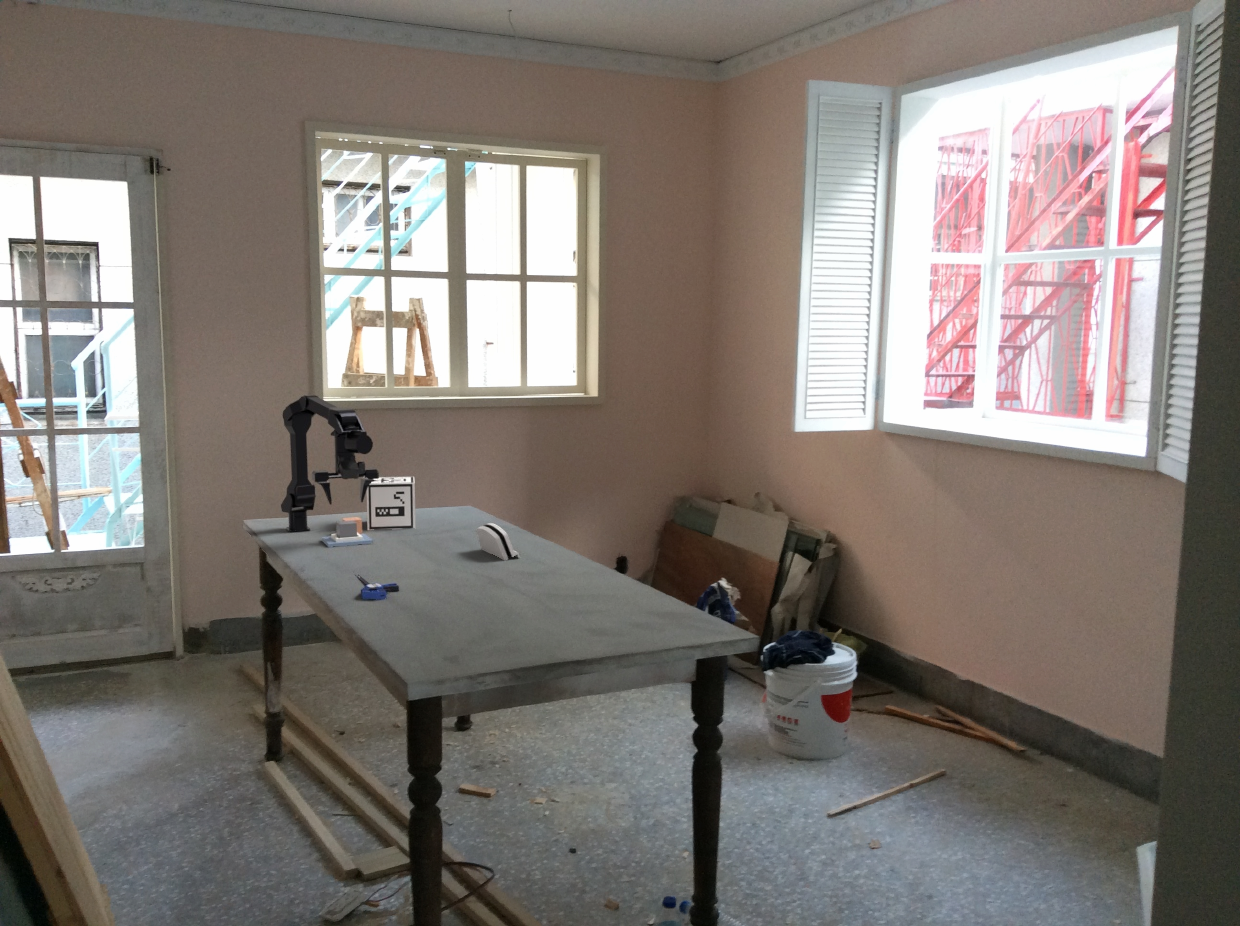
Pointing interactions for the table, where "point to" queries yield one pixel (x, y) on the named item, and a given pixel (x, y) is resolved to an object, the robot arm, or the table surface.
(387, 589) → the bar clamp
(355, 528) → the charcoal cube
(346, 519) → the terracotta cube
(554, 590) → the table surface
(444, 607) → the table surface
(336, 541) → the board
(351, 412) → the robot arm
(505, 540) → the striped white half-disc
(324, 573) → the table surface
